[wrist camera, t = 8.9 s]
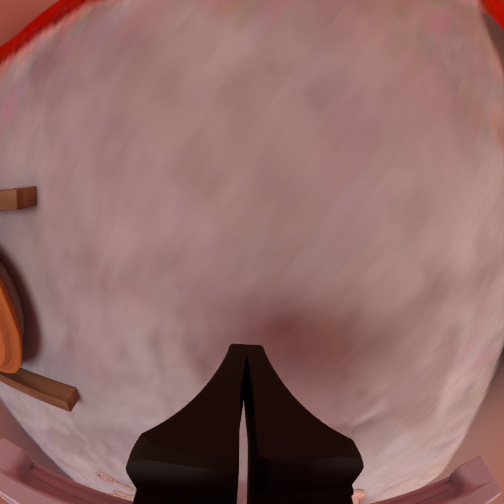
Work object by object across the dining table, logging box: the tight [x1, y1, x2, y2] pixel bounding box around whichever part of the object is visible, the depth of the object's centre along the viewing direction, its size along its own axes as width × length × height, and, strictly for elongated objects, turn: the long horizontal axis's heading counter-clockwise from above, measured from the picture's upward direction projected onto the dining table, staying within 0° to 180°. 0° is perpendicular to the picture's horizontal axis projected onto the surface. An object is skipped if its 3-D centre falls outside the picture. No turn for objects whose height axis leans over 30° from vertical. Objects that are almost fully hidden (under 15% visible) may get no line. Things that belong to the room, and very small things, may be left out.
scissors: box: [96, 472, 136, 499], centre depth 31 cm, size 11×1×20 cm
